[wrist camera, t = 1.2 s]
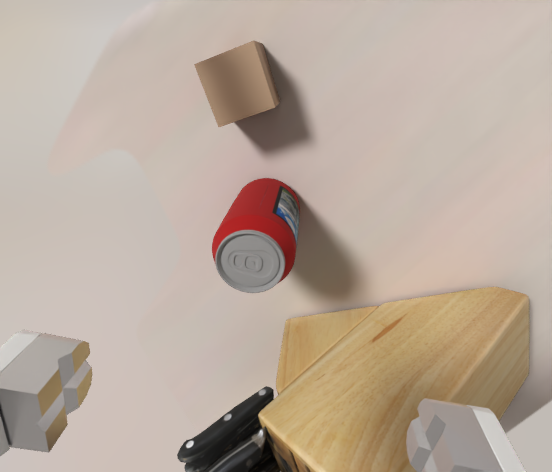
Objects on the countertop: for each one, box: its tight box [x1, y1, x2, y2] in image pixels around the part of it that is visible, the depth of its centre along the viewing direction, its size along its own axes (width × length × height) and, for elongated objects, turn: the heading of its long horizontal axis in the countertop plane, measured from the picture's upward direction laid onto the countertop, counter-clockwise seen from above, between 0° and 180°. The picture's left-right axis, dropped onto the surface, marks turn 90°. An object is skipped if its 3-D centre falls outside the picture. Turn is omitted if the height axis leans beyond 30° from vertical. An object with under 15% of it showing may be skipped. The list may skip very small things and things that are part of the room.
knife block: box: [177, 287, 529, 472], centre depth 31 cm, size 11×35×31 cm, turn 105°
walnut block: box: [194, 41, 281, 127], centre depth 31 cm, size 5×5×5 cm
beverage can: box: [212, 178, 300, 293], centre depth 32 cm, size 7×7×12 cm
